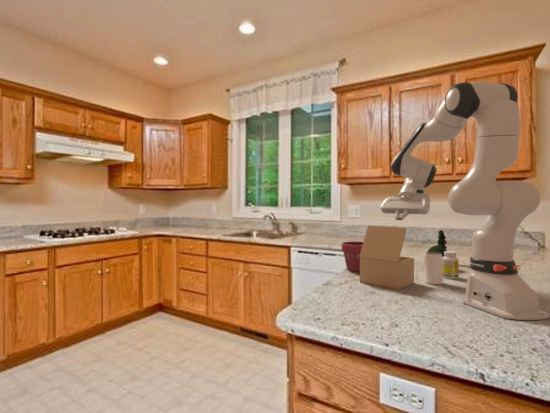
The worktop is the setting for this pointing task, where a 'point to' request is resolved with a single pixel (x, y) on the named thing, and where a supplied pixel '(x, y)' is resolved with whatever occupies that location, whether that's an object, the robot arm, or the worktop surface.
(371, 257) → the flap
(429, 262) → the can
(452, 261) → the pill bottle
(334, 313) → the worktop surface
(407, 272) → the carton
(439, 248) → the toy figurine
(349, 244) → the plant pot
